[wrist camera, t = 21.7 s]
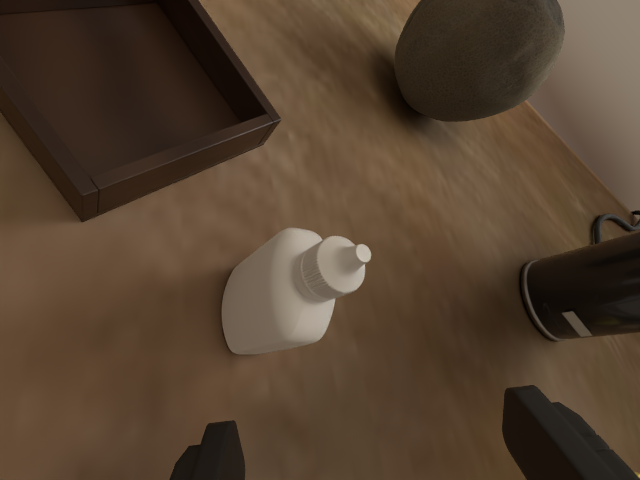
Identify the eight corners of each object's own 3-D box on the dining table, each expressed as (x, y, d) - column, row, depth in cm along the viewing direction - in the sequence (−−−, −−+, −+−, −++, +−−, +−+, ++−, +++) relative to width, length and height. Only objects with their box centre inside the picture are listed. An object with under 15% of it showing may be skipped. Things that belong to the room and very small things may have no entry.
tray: (160, -3, 27) (167, -45, 25) (263, 144, 28) (282, 119, 25) (-74, 11, 19) (-99, -49, 16) (82, 222, 19) (81, 196, 17)
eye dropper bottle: (292, 292, 25) (421, 233, 15) (253, 367, 22) (383, 352, 12) (241, 255, 24) (346, 167, 14) (191, 329, 21) (283, 279, 11)
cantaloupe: (407, 159, 37) (558, 51, 25) (350, 43, 39) (468, -109, 27) (473, 145, 46) (609, 60, 34) (425, 51, 47) (539, -62, 35)
